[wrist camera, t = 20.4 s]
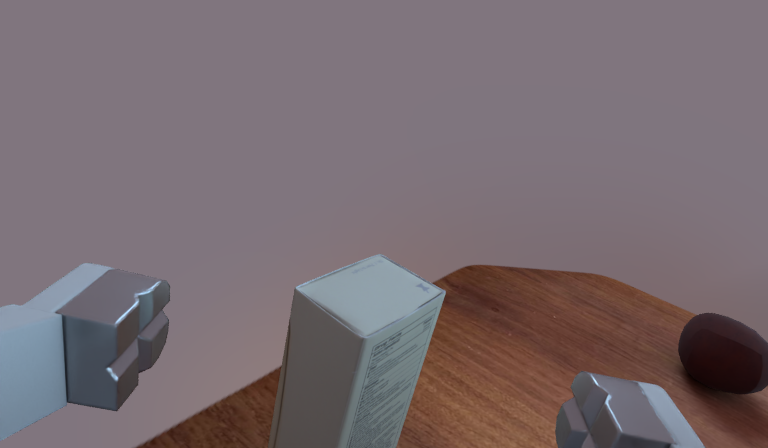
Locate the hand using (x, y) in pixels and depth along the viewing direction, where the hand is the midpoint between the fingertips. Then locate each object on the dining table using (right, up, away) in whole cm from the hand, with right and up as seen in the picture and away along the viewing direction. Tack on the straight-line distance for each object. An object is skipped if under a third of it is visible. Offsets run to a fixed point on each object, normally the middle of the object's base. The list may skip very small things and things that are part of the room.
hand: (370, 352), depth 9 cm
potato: (+30, -12, +34) cm, 47 cm away
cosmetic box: (-3, -11, +17) cm, 21 cm away
